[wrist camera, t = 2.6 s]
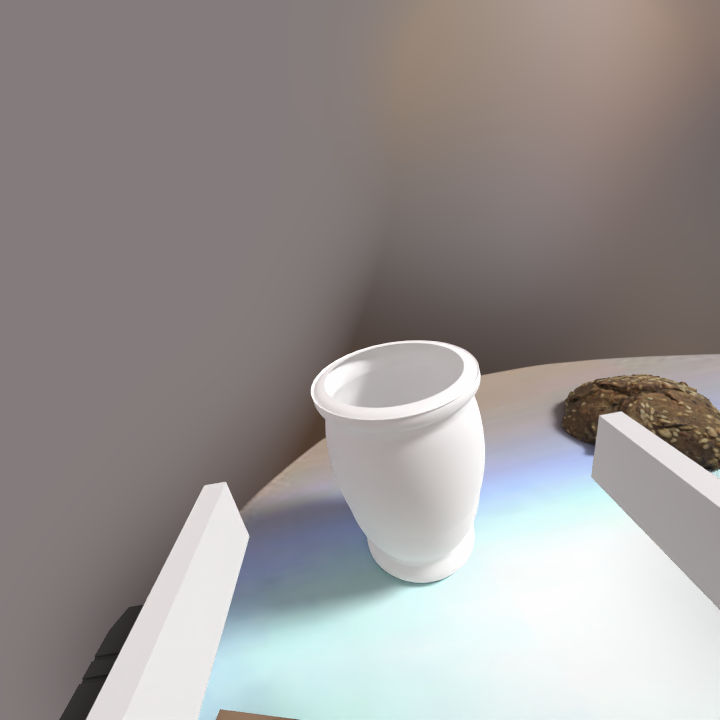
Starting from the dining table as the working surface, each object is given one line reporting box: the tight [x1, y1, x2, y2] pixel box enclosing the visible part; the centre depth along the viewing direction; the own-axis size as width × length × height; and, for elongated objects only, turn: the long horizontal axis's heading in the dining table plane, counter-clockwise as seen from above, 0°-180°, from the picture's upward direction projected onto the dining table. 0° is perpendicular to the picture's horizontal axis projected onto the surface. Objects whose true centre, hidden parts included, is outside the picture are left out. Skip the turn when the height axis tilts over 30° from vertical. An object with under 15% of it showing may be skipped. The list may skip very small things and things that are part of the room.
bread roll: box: [562, 374, 720, 470], centre depth 33 cm, size 13×12×5 cm
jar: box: [311, 340, 485, 583], centre depth 24 cm, size 11×10×15 cm
